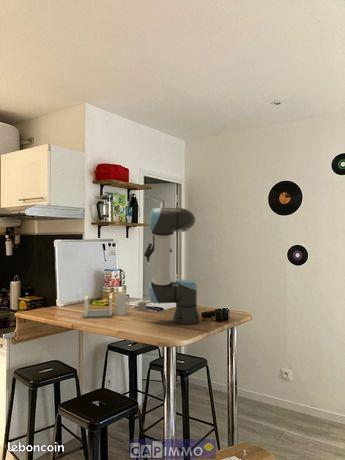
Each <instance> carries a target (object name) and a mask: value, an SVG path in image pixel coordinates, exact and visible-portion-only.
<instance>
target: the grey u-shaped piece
mask: <svg viewBox="0 0 345 460" xmlns="http://www.w3.org/2000/svg"><path fill="white" fill-rule="evenodd" d="M83 302H84V305H83V307H84V309H83V311H84V313H83V319H85V320H86V319H87V320H88V319H90V318H92V319H112V318H113V294H110V295H109V299H108V302H109V304H108V305H109V306H108V307H109V308H104V309H101V308H100V309H89V303H90V302H89V295H85V296H84V298H83ZM90 320H91V319H90Z"/></svg>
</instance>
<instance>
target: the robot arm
mask: <svg viewBox="0 0 345 460" xmlns="http://www.w3.org/2000/svg"><path fill="white" fill-rule="evenodd" d="M149 216H150V217H149V225H148V230H149V231H150V232H151V234H152V242H149V241H148V245H147V248H146V250H145V251H144V257H145V258H146V261H147V265H148V266H149V267H151V266H152V265H151V263H152V262H151V258H152V257H151V255H152V254H153V253H154V261H153V263H154V269H153V271H154V272H153V274H154V275H153V277H152V278H151V281H150V282H148V291H149V296H150V297H149V298H150V302H151V303H152V304H158V305H160V304H175V309H174V314H173V317H172V322H173V323H175V324H178V325H196V324H199V323H201V317H200V313H199V310H198V308H197V307H198V306H197V305H198V303H197V301H198V300H197V299H198V297H197V292H198V289H197V283H196V282H195V281H194V280H189V279H183V278H181V279H180V278H176V279H175V281H173V279H172V278H171V253H172V252H173V249H172V248H171V245H172V244H171V243H172V242H171V237H172V236H173V235H174V232H188V231H189V229H191V228H193V227H194V225H195V223H196V217H195V215H194V213H193V212H192V211H190V210H188V209H186V208H182V207H154V208H152V209H151V211H150V215H149Z"/></svg>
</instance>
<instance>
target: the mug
mask: <svg viewBox="0 0 345 460" xmlns="http://www.w3.org/2000/svg"><path fill="white" fill-rule="evenodd" d="M129 306H130V297H129V295H126V293H125V294H123V293H122V294H115V295H114V309H115V310H114V311H115V313H114V314H115V316H117V317H118V316H120V317H121V316H126V314H127V309H129Z"/></svg>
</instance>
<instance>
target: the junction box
mask: <svg viewBox="0 0 345 460" xmlns="http://www.w3.org/2000/svg"><path fill="white" fill-rule="evenodd" d="M137 303H138V304H137V308H138V311H141V312H143V311H147V301H146V300H145V301H142V300H141V301H138V302H137Z"/></svg>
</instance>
